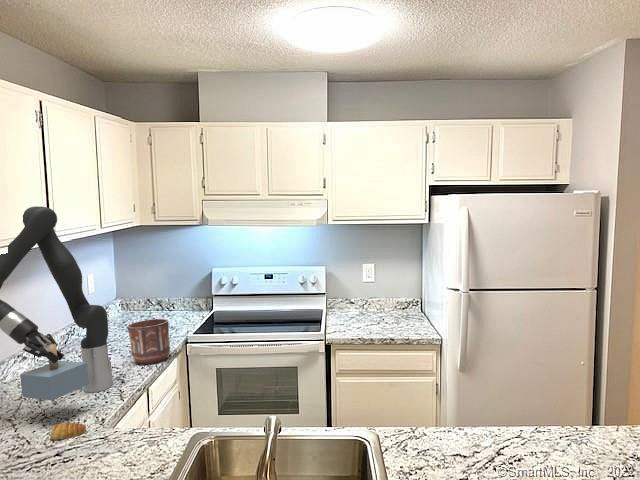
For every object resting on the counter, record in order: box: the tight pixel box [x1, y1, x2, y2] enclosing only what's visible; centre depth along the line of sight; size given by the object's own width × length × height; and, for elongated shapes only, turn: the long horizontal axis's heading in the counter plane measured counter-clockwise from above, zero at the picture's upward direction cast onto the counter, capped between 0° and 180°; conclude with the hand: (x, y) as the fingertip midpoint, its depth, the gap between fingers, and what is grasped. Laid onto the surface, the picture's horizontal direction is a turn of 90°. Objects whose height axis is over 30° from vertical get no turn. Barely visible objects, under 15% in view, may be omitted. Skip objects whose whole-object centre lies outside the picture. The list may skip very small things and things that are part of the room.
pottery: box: [126, 318, 171, 365], centre depth 217 cm, size 18×18×18 cm
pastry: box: [49, 422, 87, 441], centre depth 143 cm, size 9×7×4 cm
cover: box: [19, 343, 89, 402], centre depth 156 cm, size 14×14×16 cm
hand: (59, 359), depth 156 cm, fingers closed on cover, 2 cm apart
